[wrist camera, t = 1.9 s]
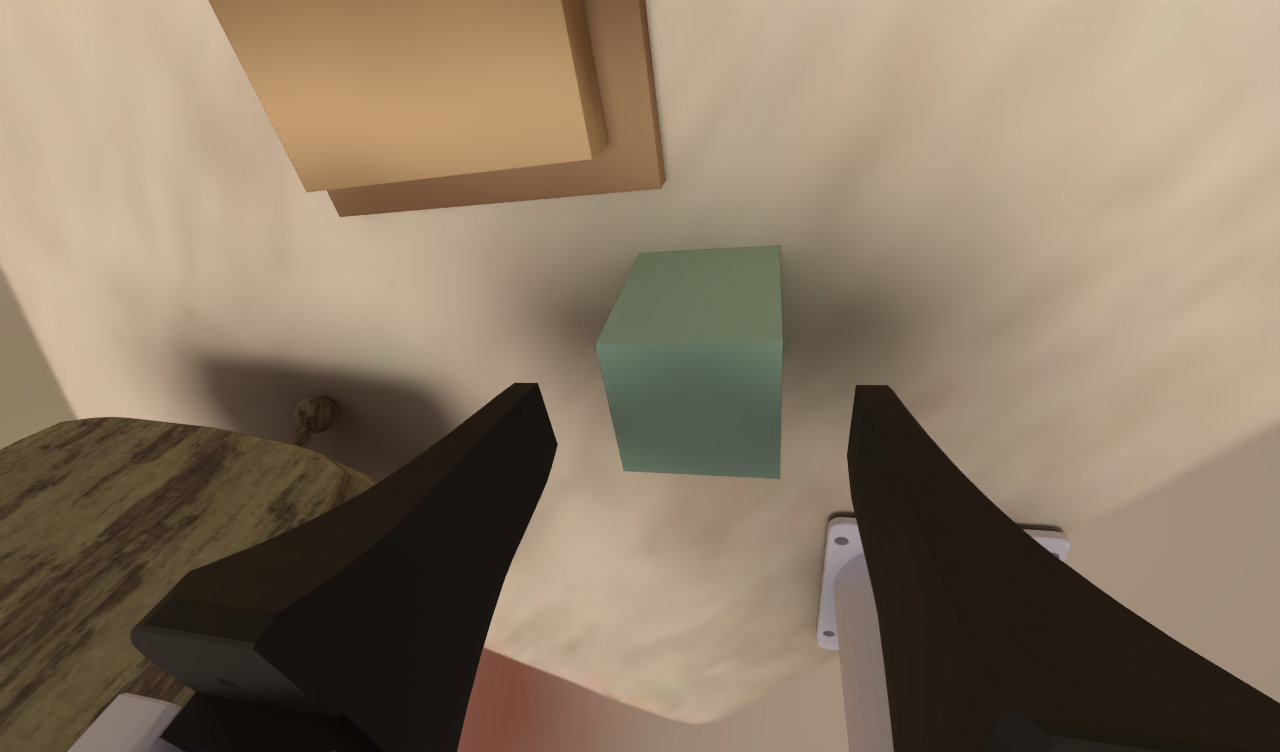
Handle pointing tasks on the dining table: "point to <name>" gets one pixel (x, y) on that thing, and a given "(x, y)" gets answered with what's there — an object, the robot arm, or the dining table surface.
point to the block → (697, 363)
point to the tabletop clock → (130, 549)
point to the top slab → (419, 85)
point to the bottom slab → (615, 168)
